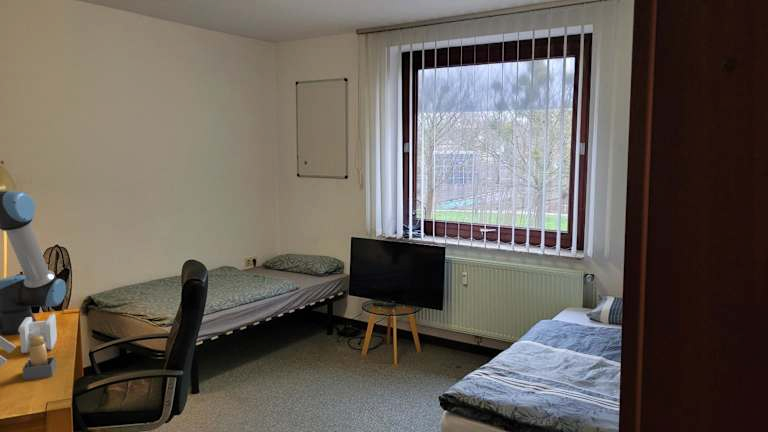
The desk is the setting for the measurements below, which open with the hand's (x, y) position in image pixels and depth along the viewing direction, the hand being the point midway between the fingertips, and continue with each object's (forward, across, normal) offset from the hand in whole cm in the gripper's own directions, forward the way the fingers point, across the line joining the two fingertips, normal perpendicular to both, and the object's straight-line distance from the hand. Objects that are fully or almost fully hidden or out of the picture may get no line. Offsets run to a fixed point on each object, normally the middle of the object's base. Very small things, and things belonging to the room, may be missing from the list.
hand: (8, 356), depth 194 cm
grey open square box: (+11, 0, +1) cm, 11 cm away
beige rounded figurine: (+10, 0, +2) cm, 11 cm away
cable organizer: (+8, -30, -3) cm, 31 cm away
